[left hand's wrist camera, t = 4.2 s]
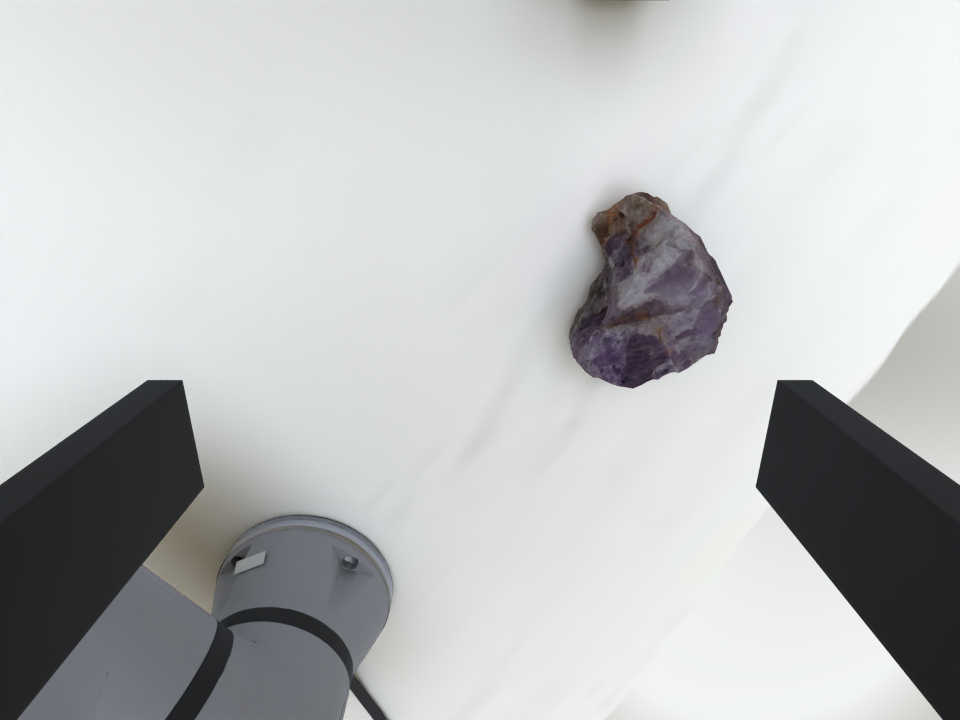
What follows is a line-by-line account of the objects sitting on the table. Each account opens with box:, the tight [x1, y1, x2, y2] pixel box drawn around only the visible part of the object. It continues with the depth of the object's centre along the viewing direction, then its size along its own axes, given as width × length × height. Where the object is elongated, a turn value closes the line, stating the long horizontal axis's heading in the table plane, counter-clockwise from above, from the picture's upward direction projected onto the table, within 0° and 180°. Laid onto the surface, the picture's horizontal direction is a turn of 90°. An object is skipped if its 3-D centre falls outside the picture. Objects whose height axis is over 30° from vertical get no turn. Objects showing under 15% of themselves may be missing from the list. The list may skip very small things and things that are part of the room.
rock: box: [569, 192, 733, 388], centre depth 38 cm, size 12×9×10 cm
